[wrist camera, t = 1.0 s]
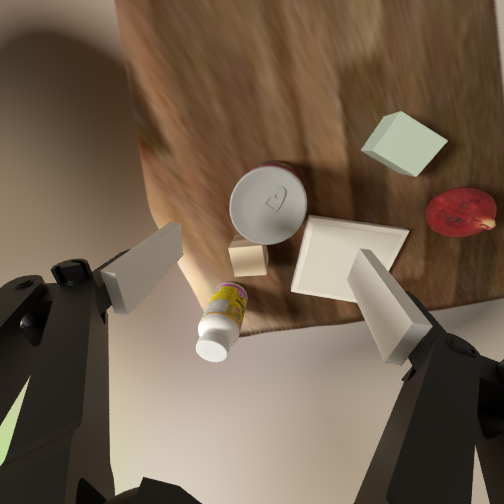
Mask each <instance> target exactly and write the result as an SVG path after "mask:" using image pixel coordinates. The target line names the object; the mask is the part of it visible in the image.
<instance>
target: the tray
mask: <svg viewBox="0 0 504 504" xmlns="http://www.w3.org/2000/svg"><path fill="white" fill-rule="evenodd" d="M408 233H409V230H407V229H406V228H402V227H395V226H387V225H380V224H373V223H366V222H358V221H351V220H344V219H337V218H329V217H322V216H315V215H308V220H307V224H306V228H305V232H304V236H303V240H302V244H301V248H300V252H299V256H298V261H297V265H296V269H295V273H294V277H293V281H292V285H291V292H297V293H303V294H309V295H314V296H320V297H326V298H332V299H338V300H344V301H350V302H356V303H357V301H356V299H355V296H354V294H353V292H352V290H351V288H350V286H349V283H348V281H347V278H348V275H349V273H350V271H351V268H352V266H353V263H354V261H355V258H356V256H357V253H358V251H359V248H361V249H368V250H371V251H372V252H373V253H374V254H375V256H376V257H377V258H378V259H379V261H380V262H381V263H382V264H383V265H384V267H385V268H386V269H387V270H388V272H389V270H390V268H391V266H392V264H393V262H394V260H395V258H396V256H397V254H398V252H399V250H400V248H401V246H402V245H403V243H404V241H405V239H406V237H407V235H408Z"/></svg>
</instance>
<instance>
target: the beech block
mask: <svg viewBox="0 0 504 504" xmlns="http://www.w3.org/2000/svg"><path fill="white" fill-rule="evenodd" d="M228 249H229V253H230V258H231V262H232V266H233V270H234V275H235V276H253V275H266V273H267V266H268V252H267V245H263V244H257V243H254V242H251V241H249V240H248V239H246V238H245V237H243V236H242V235H235V237H234V239H233V241H232V242H231V244H230V246H229V248H228Z"/></svg>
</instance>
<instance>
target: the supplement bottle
mask: <svg viewBox="0 0 504 504" xmlns="http://www.w3.org/2000/svg"><path fill="white" fill-rule="evenodd" d="M247 300H248V296H247V293H246V291H245V289H244V288H243V287H242V286H240V285H239V284H236V283H233V282H226V283H222V284H220V285H219V286H218V287H217V288H216V290H215V292H214V294H213V296H212V298H211V300H210V302H209V304H208V306H207V309H206V311H205V313H204V315H203V317H202V319H201V321H200V323H199V326H198V333H199V336H200V338H199V340H198V343H197V345H196V351H197V353H198V354H199V356H200V357H202V358H203V359H205V360H207V361H210V362H220V361H223V360H224V359H226V357H227V355H228V351H229V347H230V346H232V345H233V344H235V343H236V341H237V340H238V337H239V334H240V329H241V325H242V321H243V317H244V313H245V309H246V304H247Z"/></svg>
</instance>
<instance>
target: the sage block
mask: <svg viewBox="0 0 504 504" xmlns="http://www.w3.org/2000/svg"><path fill="white" fill-rule="evenodd" d="M447 141H448V140H446V139H444V138H443V137H441V136H440V135H438V134H436V133H435V132H433V131H432V130H430V129H429V128H427V127H425V126H424V125H422V124H421V123H419V122H417V121H416V120H414V119H413V118H411V117H409V116H408V115H406V114H405V113H403V112H402V111H400V112H397V113H394V114H391V115H387V116H384V117H383V119H382V120H381V122H380V123H379V125H378V126H377V128H376V129H375V130H374V132H373V133H372V135H371V136H370V138H369V139H368V141H367V142H366V144H365V145H364V146H363V148H362V149H361V151H362V152H364V153H366V154H367V155H369V156H371V157H373V158H374V159H376V160H378V161H379V162H381V163H383V164H384V165H386V166H388V167H389V168H391V169H393V170H394V171H396V172H398V173H400V174H405V175H410V176H414V177H417V176H418V174H419V173H420V172H421V171H422V170H423V169H424V168H425V166H426V165H427V164H428V163H429V162H430V161H431V160H432V158H433V157H434V156H435V155H436V154H437V153H438V152H439V151H440V149H441V148H442V147H443V146H444V145H445V144H446V143H447Z"/></svg>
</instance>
